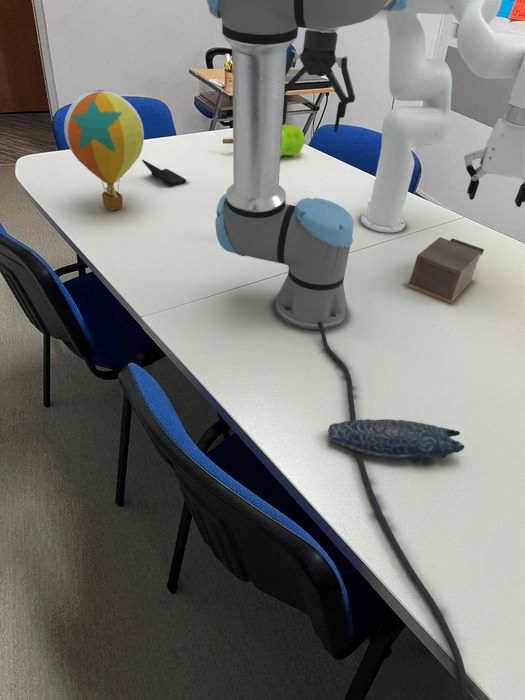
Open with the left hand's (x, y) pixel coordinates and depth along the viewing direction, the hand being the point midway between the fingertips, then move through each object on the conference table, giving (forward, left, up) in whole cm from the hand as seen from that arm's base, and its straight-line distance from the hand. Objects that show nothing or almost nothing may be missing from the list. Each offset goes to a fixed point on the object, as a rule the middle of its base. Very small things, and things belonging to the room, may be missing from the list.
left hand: (309, 127), depth 132 cm
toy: (-8, +51, -26) cm, 58 cm away
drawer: (-20, -40, -25) cm, 51 cm away
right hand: (-26, -42, -3) cm, 50 cm away
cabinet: (-25, -37, -26) cm, 52 cm away
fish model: (-80, -23, -26) cm, 87 cm away
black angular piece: (+17, +44, -26) cm, 54 cm away
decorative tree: (+52, +18, -26) cm, 60 cm away
